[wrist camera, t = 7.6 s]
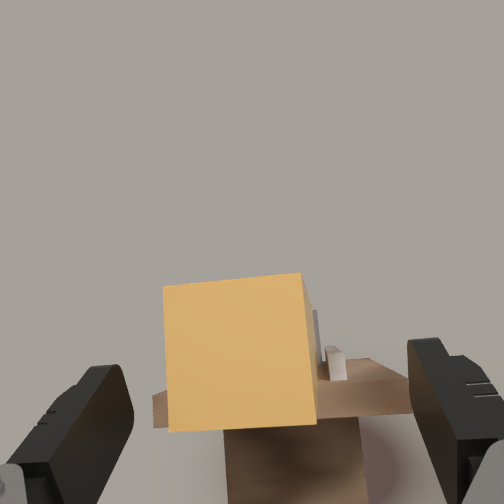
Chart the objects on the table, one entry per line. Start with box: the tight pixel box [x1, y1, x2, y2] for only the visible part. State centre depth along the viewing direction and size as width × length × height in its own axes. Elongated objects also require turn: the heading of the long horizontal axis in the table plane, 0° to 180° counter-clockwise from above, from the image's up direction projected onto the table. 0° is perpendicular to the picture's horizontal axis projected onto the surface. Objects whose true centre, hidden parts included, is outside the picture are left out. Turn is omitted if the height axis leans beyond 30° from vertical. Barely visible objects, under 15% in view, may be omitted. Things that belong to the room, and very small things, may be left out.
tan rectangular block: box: [163, 272, 323, 432], centre depth 23 cm, size 5×23×4 cm, turn 171°
